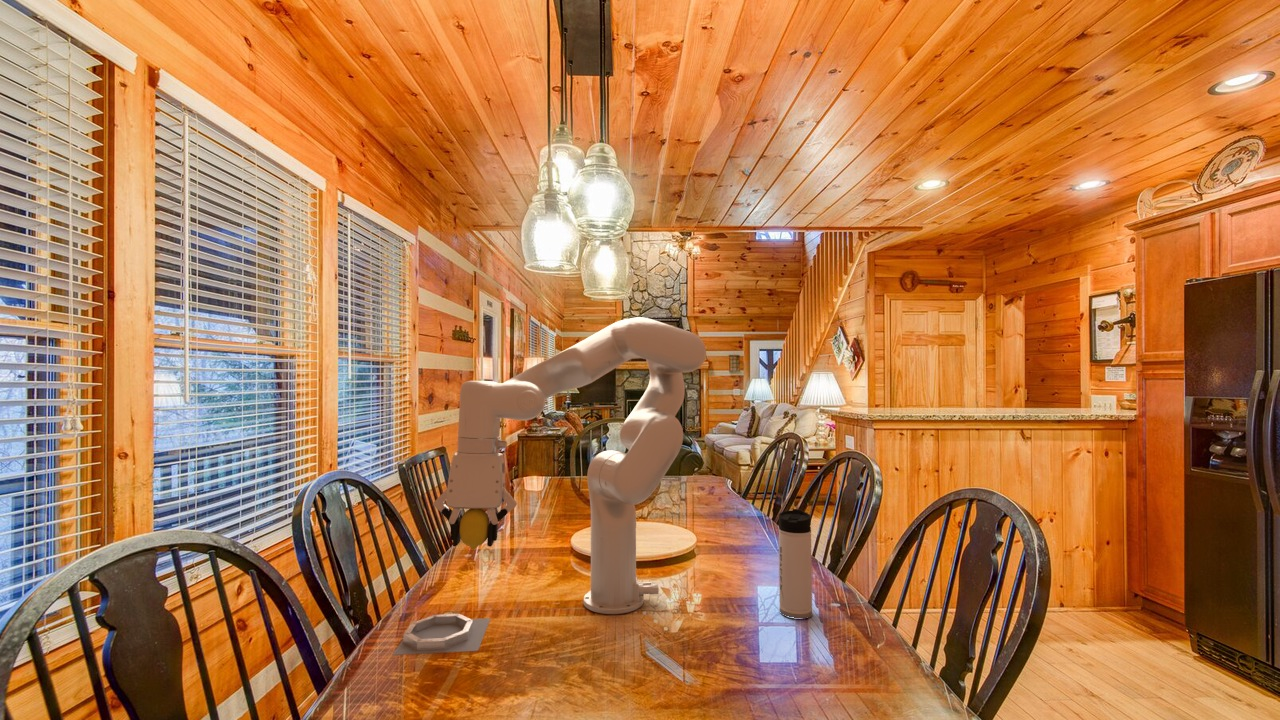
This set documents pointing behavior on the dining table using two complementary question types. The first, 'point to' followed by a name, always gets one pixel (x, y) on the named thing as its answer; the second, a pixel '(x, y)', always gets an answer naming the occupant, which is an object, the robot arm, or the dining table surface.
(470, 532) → the lemon
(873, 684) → the dining table surface
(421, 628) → the ring
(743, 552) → the dining table surface
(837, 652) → the dining table surface
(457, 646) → the board
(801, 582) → the travel mug
